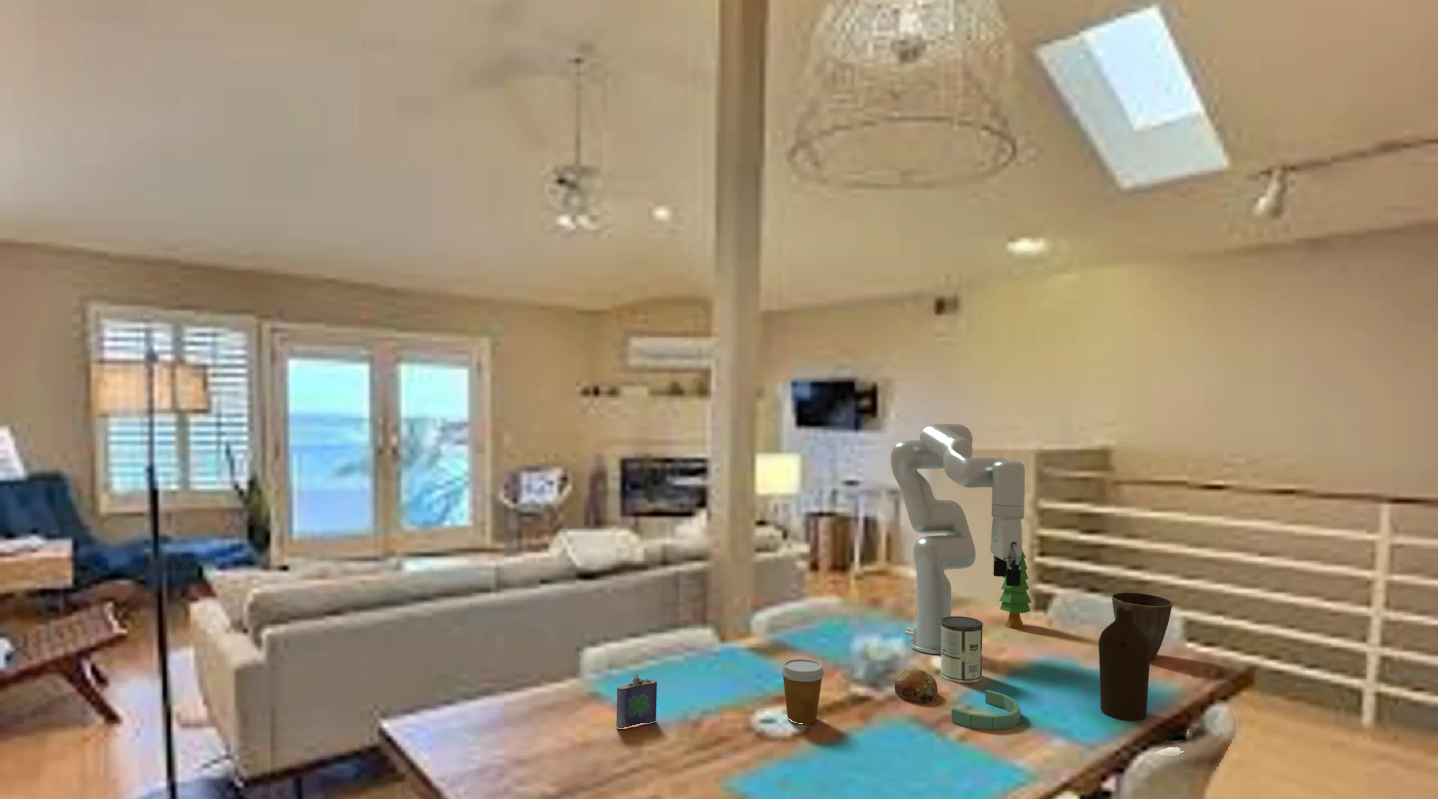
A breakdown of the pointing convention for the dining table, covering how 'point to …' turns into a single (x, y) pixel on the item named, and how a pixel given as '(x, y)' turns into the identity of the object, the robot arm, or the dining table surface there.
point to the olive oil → (1124, 667)
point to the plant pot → (1147, 615)
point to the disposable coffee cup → (802, 689)
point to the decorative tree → (1016, 598)
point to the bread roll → (916, 686)
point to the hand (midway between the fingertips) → (1006, 580)
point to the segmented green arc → (990, 720)
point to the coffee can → (961, 649)
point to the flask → (636, 702)
